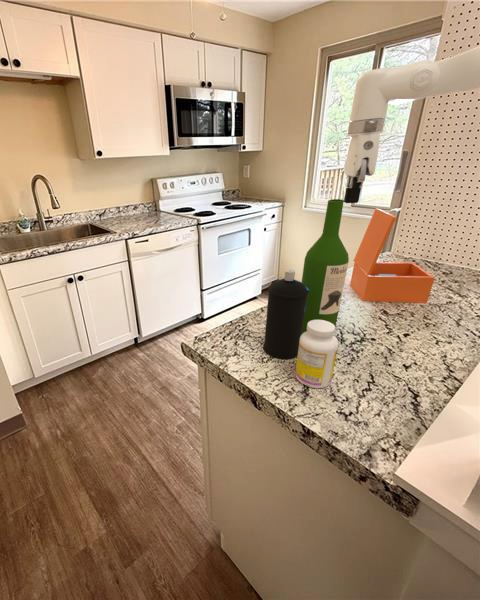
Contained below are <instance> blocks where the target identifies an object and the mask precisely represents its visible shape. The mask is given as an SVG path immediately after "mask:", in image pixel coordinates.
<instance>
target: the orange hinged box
mask: <svg viewBox="0 0 480 600" xmlns="http://www.w3.org/2000/svg"><path fill="white" fill-rule="evenodd" d="M377 274H396V275H397V276H377ZM435 279H436V277H435V276H434V275H432V274H431V273H429V272H428V271H426V270H425V269H423V268H422V267H421V266H419V265H418V264H416V263H415V262H413V261H411V262H409V261H407V262H406V261H405V262H404V261H401V262H400V261H398V262H397V261H395V262H394V261H392V262H391V261H389V262H388V261H383V262H379V261H377V262H376V264H375V266H374V268H373V270H372V272H371V275H367V274H366V273H365V272H364V271H363V270H362V269H361V268H360V267H359V266H358V265H357V264H356V263H355V262H354V263H353V268H352V272H351V277H350V283H349V286H351V288H352V289H353V291H354V292H355V293H356V294H357V296H358V297H359V298H360V300H361V301H362V302H375V303H376V302H380V303H412V304H427V303H428V300H429V297H430V293H431V291H432V288H433V286H434V282H435Z"/></svg>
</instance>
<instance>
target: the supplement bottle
mask: <svg viewBox="0 0 480 600" xmlns="http://www.w3.org/2000/svg"><path fill="white" fill-rule="evenodd" d="M335 333H336V327H335V326H334V324H332V323H330V322H328V321H325V320H311V321H309V322H308V324H307V331H306V332H304V333H303V334H302V335H301V337H300V341H299V349H298V356H297V357H296V365H295V372H294V373H295V378H296V379H297V380H298V381H299V382H300V384H302V385H305V386H306V387H309V388H312V389H324V388H327V387H328V386H330V385H331V383H332V380H333V376H334V370H335V365H336V360H337V356H338V349H339V341H338V338H337V337H336V336H335Z"/></svg>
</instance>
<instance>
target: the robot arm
mask: <svg viewBox="0 0 480 600" xmlns="http://www.w3.org/2000/svg"><path fill="white" fill-rule="evenodd" d="M475 89H480V45H478V46H476V47H474V48H471V49H468V50H466V51H464V52H461V53H458V54H455V55H452V56H450V57H447V58H443V59H440V60H436V61H432V60H417V61H415V62H411V63H407V64H404V65H399V66H396V67H379V68H375V69H374V68H373V69H370V70H367V71H364V72H362V73H361V74H359V76H358V77H357V80H356V84H355V89H354V93H353V94H354V95H353V100H352V105H351V112H350V118H349V123H348V128H347V135H346V136H347V137H350V138H349V142H348V146H347V150H346V156H345V159H344V160H345V161H344V165H343V174H344V175H346V177H347V180H346V188H345V192H344V198H343V200H344V203H345V204H358V203H359V201H360V197H361V192H362V186H363V183H364V182H365V181H366V176H367V177H372V176H373V175H374V174H375V172H376V167H377V161H378V155H379V148H380V141H381V139H380V138H381V134H383V130H384V126H385V125H384V124H385V121H386V118H387V112H388V108H389V104H390V105H399V104H404V103H407V102H412V101H417V100H422V99H426V98H427V99H428V98H430V97H431V98H432V97H435V96H441V95H445V94H450V93H459V92H467V91H472V90H475Z"/></svg>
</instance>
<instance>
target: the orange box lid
mask: <svg viewBox="0 0 480 600" xmlns="http://www.w3.org/2000/svg"><path fill="white" fill-rule="evenodd" d="M370 218H371V219H370V221H369V223H368V226H367V228H366V230H365V233H364V235H363V238H362V240H361V242H360V245H359V247H358V249H357V252H356V254H355V256H354V259H353V262H354V263H356V264H357V265H358V266H359V267H360V268H361V269H362V270H363V271H364V272H365V273H366V274H367V275H371V272H372V270H373V268H374V266H375V264H376V262H378V260H379V258H380V255H381V253H382V250H383V249H384V246H385V244H386V242H387V240H388V237H389V236H390V234H391V231H392V230H393V227H394V224H395V223H396V220H397V218H398V217H397V216H396V215H393V214H391V213H388V212H386V211H384V210H382V209H381V208H375V209H374V211H373V213H372V216H371V217H370Z"/></svg>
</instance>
